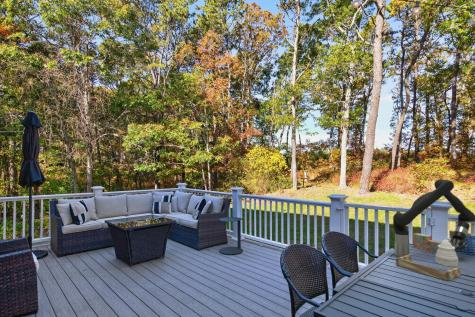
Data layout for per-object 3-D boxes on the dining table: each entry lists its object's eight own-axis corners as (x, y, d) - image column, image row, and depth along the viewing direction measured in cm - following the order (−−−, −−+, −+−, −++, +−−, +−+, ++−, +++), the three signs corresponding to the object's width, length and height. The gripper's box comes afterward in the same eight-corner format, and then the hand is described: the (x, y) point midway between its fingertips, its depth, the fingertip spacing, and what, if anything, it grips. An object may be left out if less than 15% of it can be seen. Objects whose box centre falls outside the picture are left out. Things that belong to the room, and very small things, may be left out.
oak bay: (409, 261, 198) (409, 254, 198) (460, 275, 171) (460, 267, 171) (396, 265, 190) (396, 258, 190) (447, 281, 163) (447, 272, 163)
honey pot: (450, 260, 200) (449, 235, 200) (463, 266, 187) (461, 240, 188) (431, 260, 201) (430, 235, 202) (443, 266, 188) (442, 240, 189)
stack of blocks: (444, 254, 215) (443, 238, 216) (438, 255, 213) (438, 239, 214) (417, 247, 235) (417, 232, 236) (412, 247, 233) (412, 233, 234)
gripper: (448, 229, 210) (441, 247, 204) (469, 232, 199) (462, 252, 192) (452, 235, 213) (444, 253, 206) (473, 238, 201) (466, 258, 195)
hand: (453, 252), depth 199 cm, fingers closed
